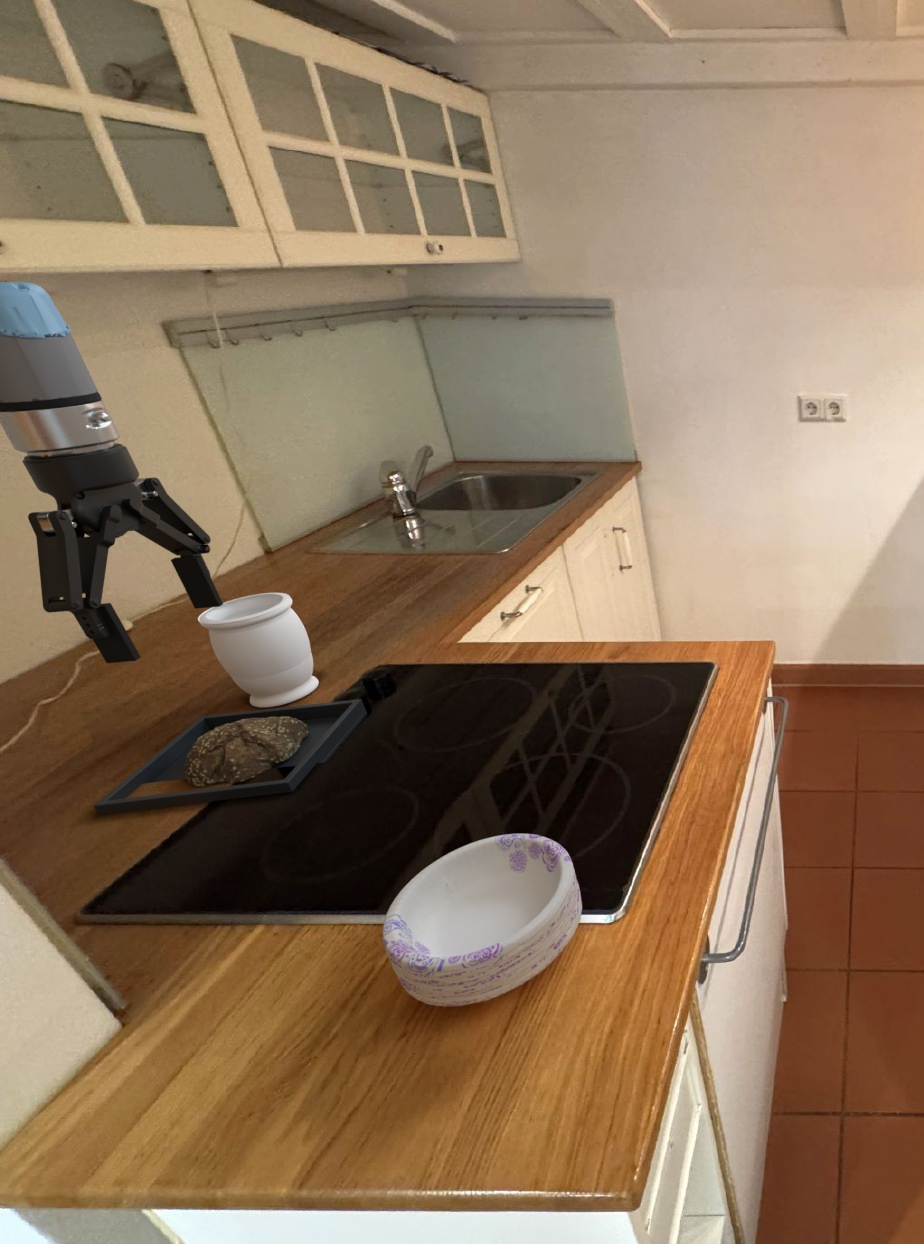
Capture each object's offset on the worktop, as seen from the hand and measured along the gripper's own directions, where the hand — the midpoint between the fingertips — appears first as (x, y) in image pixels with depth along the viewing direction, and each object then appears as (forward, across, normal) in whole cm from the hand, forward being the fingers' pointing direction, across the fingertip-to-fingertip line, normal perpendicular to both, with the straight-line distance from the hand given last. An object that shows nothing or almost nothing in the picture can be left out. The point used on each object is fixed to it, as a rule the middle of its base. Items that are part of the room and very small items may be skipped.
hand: (170, 631), depth 80 cm
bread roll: (+20, +3, +1) cm, 21 cm away
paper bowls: (+21, -34, -41) cm, 57 cm away
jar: (+21, +21, +6) cm, 30 cm away
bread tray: (+21, +3, +1) cm, 21 cm away
